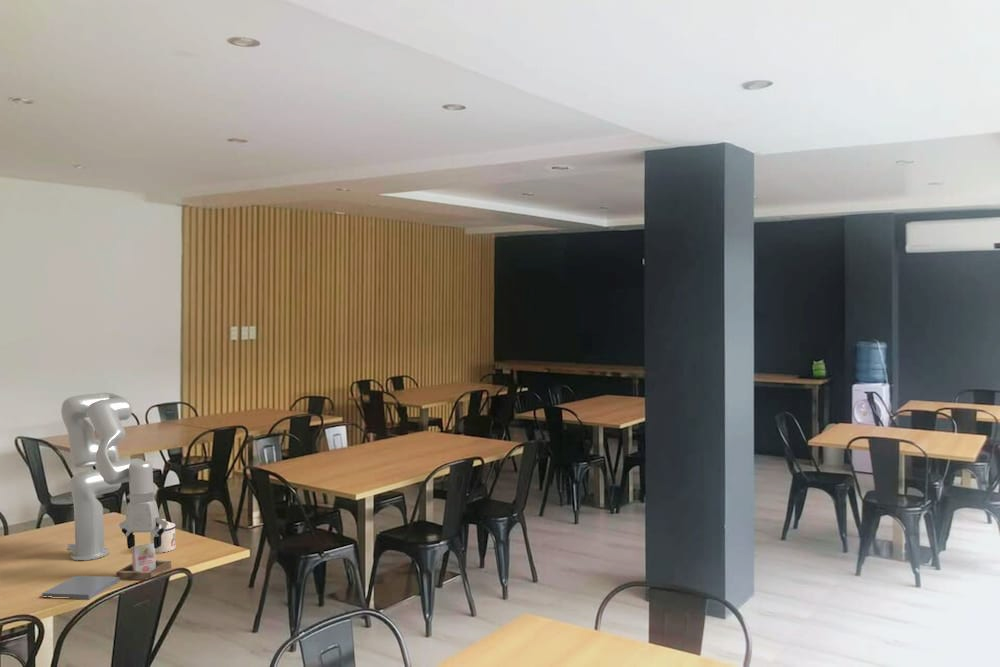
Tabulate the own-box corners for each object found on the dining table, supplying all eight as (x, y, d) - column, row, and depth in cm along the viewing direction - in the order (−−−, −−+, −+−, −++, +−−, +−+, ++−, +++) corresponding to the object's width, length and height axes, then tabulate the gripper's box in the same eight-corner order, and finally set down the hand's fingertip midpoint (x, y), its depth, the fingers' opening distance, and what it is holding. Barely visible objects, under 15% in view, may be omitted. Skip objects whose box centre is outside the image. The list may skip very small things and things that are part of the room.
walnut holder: (116, 579, 266) (116, 572, 265) (138, 567, 278) (137, 560, 278) (151, 580, 264) (150, 573, 264) (171, 567, 276) (171, 560, 276)
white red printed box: (132, 574, 271) (131, 545, 270) (154, 570, 274) (153, 542, 274) (134, 577, 268) (133, 548, 267) (155, 573, 271) (154, 544, 271)
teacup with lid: (177, 551, 296) (176, 520, 295) (151, 555, 291) (150, 523, 291) (174, 542, 306) (173, 513, 306) (149, 546, 302) (148, 516, 302)
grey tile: (42, 597, 250) (42, 593, 250) (75, 580, 266) (75, 575, 265) (88, 599, 248) (88, 594, 248) (119, 581, 264) (119, 577, 263)
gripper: (111, 500, 267) (114, 550, 268) (159, 500, 265) (162, 550, 265) (125, 495, 275) (127, 544, 275) (171, 495, 272) (174, 544, 273)
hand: (144, 547), depth 270 cm, fingers open, 9 cm apart
